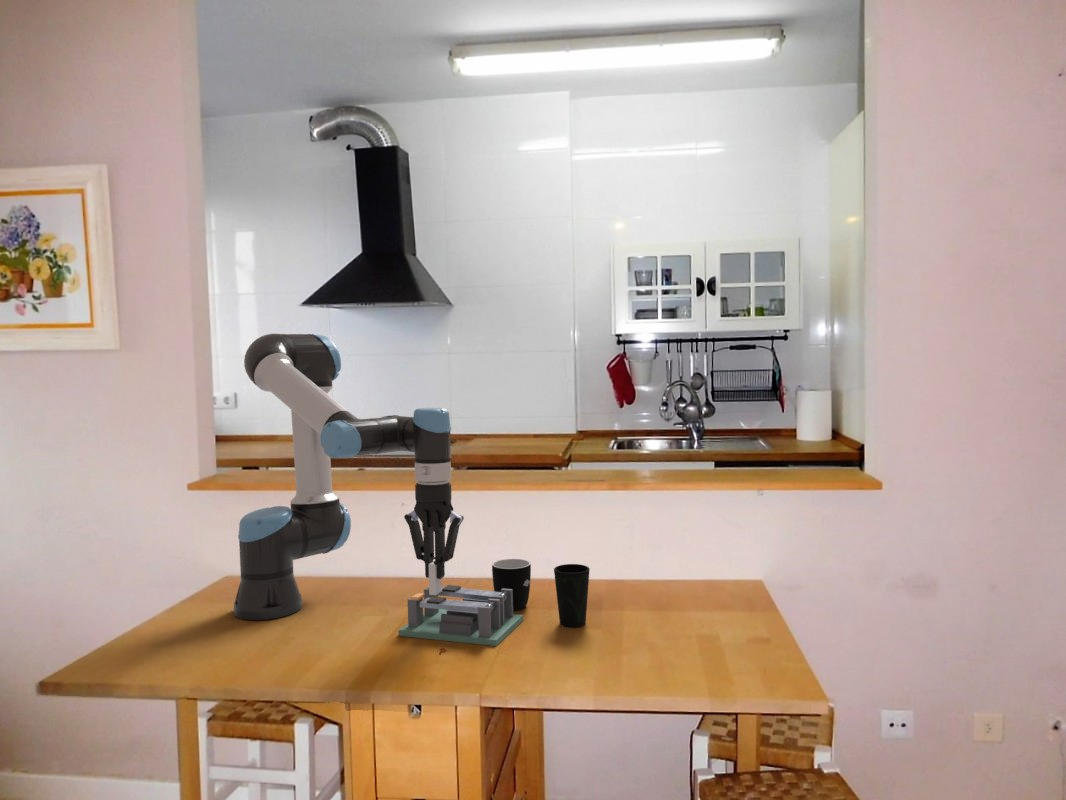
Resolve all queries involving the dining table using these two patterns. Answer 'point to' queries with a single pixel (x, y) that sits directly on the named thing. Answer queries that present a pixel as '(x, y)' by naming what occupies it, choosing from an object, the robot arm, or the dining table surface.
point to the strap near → (454, 604)
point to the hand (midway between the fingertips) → (435, 593)
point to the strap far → (470, 593)
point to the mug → (513, 579)
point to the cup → (572, 594)
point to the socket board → (462, 621)
